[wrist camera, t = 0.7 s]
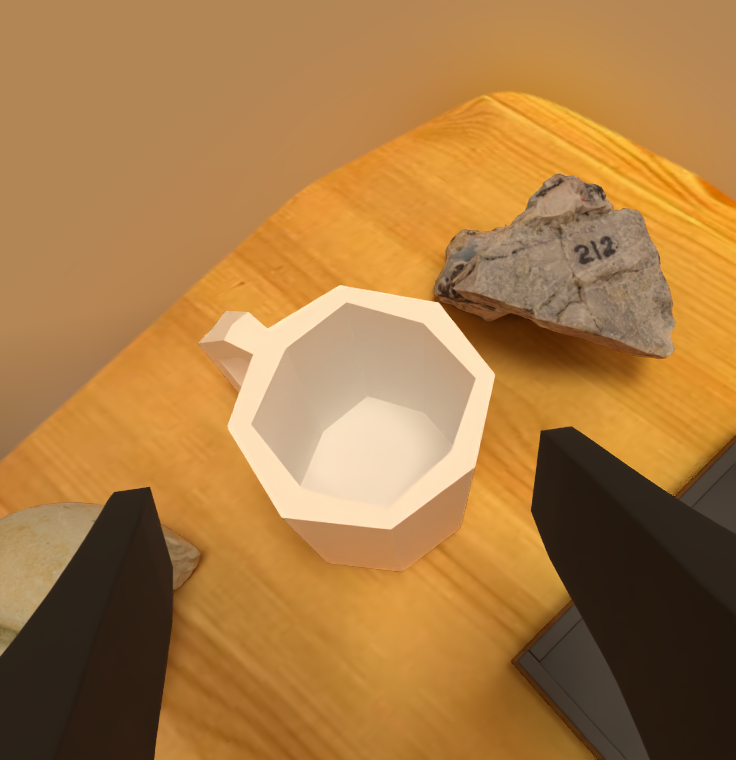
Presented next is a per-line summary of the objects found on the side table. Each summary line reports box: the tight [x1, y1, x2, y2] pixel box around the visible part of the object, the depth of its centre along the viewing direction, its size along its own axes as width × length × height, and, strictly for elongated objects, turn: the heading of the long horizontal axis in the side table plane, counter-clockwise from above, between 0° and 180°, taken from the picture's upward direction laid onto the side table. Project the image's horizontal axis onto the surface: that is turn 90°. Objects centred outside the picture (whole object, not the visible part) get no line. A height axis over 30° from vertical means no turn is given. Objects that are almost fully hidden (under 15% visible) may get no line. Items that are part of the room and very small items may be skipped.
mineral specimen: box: [434, 173, 676, 359], centre depth 31 cm, size 10×8×10 cm
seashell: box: [0, 502, 201, 656], centre depth 25 cm, size 13×8×10 cm
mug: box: [197, 285, 495, 572], centre depth 26 cm, size 12×9×10 cm
